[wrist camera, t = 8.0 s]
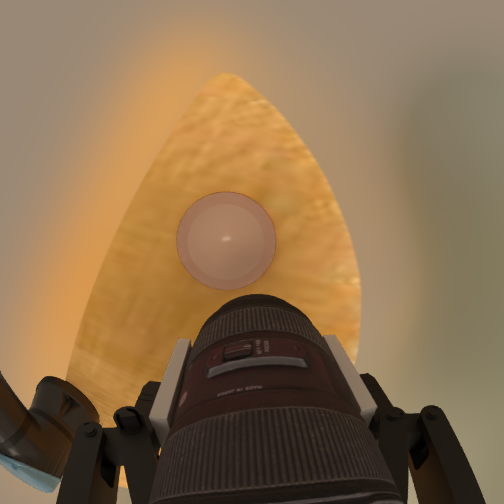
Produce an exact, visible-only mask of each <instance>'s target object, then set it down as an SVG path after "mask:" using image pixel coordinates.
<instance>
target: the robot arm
mask: <svg viewBox="0 0 504 504" xmlns="http://www.w3.org/2000/svg"><path fill="white" fill-rule="evenodd" d="M323 339H324V341H325V343H326V345H327V347H328V349H329V350H330V352H331V354H332V357H333V359H334V361H335V364H336V368H337V370H338V373H339V375H340V377H341V379H342V381H343V383H344V385H345V387H346V389H347V392H348V394H349V396H350V398H351V401H352V403H353V405H354V407H355V408H356V410H357V411H358V413H359V414H360V415H361V416H362V417H363V418H364V420H365V422H366V424H367V427H368V428H369V430H370V431H371V433H372V434H373V436H374V438H375V440H376V442H377V445H378V447H379V449H380V451H381V453H382V455H383V458H384V460H385V462H386V464H387V466H388V469H389V471H390V473H391V475H392V478H393V480H394V482H395V484H396V487H397V488H398V490H399V492H400V493H401V499H402V500H404V504H407V499H408V466H409V469H410V473H411V476H412V479H413V483H414V487H415V490H416V494H417V498H418V502H419V504H486V503H485V500H484V498H483V495H482V493H481V490H480V487H479V485H478V483H477V480H476V478H475V475H474V473H473V471H472V468H471V467H470V464H469V462H468V460H467V458H466V455H465V453H464V451H463V449H462V447H461V446H460V443H459V441H458V439H457V437H456V435H455V433H454V431H453V429H452V427H451V425H450V423H449V421H448V419H447V418H446V416H445V414H444V412H443V411H442V409H441V408H439V407H437V406H434V405H429V406H426V407H424V408H423V409H422V410H421V412H420V413H413V414H406V413H405V412H404V411H403V410H402V409H400V408H398V407H393V405H392V404H391V403H390V401H389V399H388V398H387V396H386V395H385V393H384V392H383V390H382V388H381V387H380V385H379V384H378V382H377V381H376V379H375V378H374V377H373V376H371V375H370V374H369V373H366V374H360V375H359V374H358V372H357V371H356V369H355V367H354V366H353V364H352V362H351V361H350V359H349V357H348V356H347V354H346V352H345V351H344V349H343V347H342V346H341V344H340V342H339V341H338V339H337V337H336V336H335V335H325V336H323ZM191 349H192V348H191V340H190V339H178V340H177V343H176V345H175V348H174V350H173V353H172V355H171V358H170V361H169V363H168V366H167V369H166V371H165V374H164V377H163V379H162V382H153V381H149V382H148V383H147V384H146V385H145V386H143V388H142V391H141V393H140V395H139V397H138V400H137V402H136V404H135V407H132V406H126V407H122V408H120V409H118V410H117V411H116V412H115V413H114V416H113V419H114V421H115V423H116V425H117V427H114V428H102V426H101V425H100V424H99V416H98V414H97V411H96V410H95V408H94V407H93V405H92V404H91V403H90V401H89V400H88V399H87V398H86V397H85V396H84V395H83V394H82V393H81V392H80V391H79V390H77V389H76V388H75V387H73V386H72V385H71V384H69V383H67V382H66V381H64V380H61V379H60V378H57V377H53V376H46V377H44V378H43V379H42V380H41V381H40V382H39V384H38V385H37V388H36V393H35V396H34V399H33V402H32V405H31V407H30V409H29V410H27V409H26V407H25V406H24V405H23V404H22V402H21V401H20V400H19V399H18V397H17V396H16V395H15V393H14V392H13V390H12V389H11V387H10V386H9V385H8V383H7V382H6V380H5V379H4V377H3V376H2V374H1V371H0V464H1V465H2V466H3V467H4V468H5V469H7V470H8V471H9V472H10V473H12V474H13V475H15V476H16V477H18V478H19V479H20V480H22V481H23V482H25V483H27V484H28V485H30V486H32V487H34V488H36V489H38V490H40V491H42V492H45V493H52V492H53V491H54V490H55V489H56V487H57V485H58V484H59V482H61V485H60V489H59V493H58V498H57V502H56V504H116V502H117V491H118V483H119V474H120V467H121V466H124V468H125V474H126V479H127V484H128V488H129V493H130V497H131V501H132V504H149V499H150V495H151V491H152V486H153V482H154V478H155V474H156V469H157V465H158V461H159V457H160V456H159V450H160V447H161V450H162V448H163V446H164V443H165V440H166V438H167V435H168V433H169V431H170V429H171V428H172V426H173V422H174V418H175V414H176V410H177V406H178V402H179V398H180V393H181V389H182V385H183V379H184V373H185V369H186V365H187V362H188V358H189V355H190V352H191ZM62 476H63V477H62ZM61 478H62V481H61Z"/></svg>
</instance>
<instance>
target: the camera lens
mask: <svg viewBox="0 0 504 504" xmlns="http://www.w3.org/2000/svg"><path fill="white" fill-rule="evenodd" d="M149 504H404V500H402V499H401V493H400V492H399V490H398V488H397V487H396V484H395V482H394V480H393V478H392V475H391V473H390V471H389V469H388V466H387V464H386V462H385V460H384V458H383V455H382V453H381V451H380V449H379V447H378V445H377V442H376V440H375V438H374V436H373V434H372V433H371V431H370V430H369V428H368V427H367V424H366V422H365V420H364V418H363V417H362V416H361V415H360V414H359V413H358V411H357V410H356V408H355V407H354V405H353V403H352V401H351V398H350V396H349V394H348V392H347V389H346V387H345V385H344V383H343V381H342V379H341V377H340V375H339V373H338V370H337V368H336V364H335V361H334V359H333V357H332V354H331V352H330V350H329V349H328V347H327V345H326V343H325V341H324V339H323V337H322V336H321V334H320V333H319V331H318V330H317V329H316V328H315V327H314V326H313V324H312V322H311V321H310V320H309V318H308V317H307V316H306V315H305V314H304V313H303V312H301V311H300V310H299V309H298V308H296V307H295V306H293V305H290V304H289V303H288V302H286V301H284V300H282V299H280V298H277V297H275V296H271V295H265V294H250V295H244V296H241V297H238V298H235V299H233V300H231V301H229V302H228V303H226V304H224V305H223V306H222V307H221V308H220V309H219V310H218V311H216V312H215V313H214V314H213V315H212V316H210V317H209V318H208V320H207V321H206V322H205V323H204V325H203V326H202V328H201V330H200V332H199V335H198V336H197V338H196V340H195V342H194V345H193V347H192V349H191V352H190V355H189V358H188V362H187V365H186V369H185V373H184V379H183V385H182V389H181V393H180V398H179V402H178V406H177V410H176V414H175V418H174V422H173V426H172V428H171V429H170V431H169V433H168V435H167V438H166V440H165V443H164V446H163V448H162V450H161V453H160V457H159V461H158V465H157V469H156V474H155V478H154V482H153V486H152V491H151V495H150V499H149Z"/></svg>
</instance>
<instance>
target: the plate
mask: <svg viewBox="0 0 504 504" xmlns="http://www.w3.org/2000/svg"><path fill="white" fill-rule="evenodd" d="M275 248H276V235H275V230H274V226H273V224H272V221H271V219H270V217H269V216H268V214H267V213H266V211H265V210H264V209H263V208H262V207H261V206H260V205H259V204H258V203H256V202H255V201H254V200H252V199H250V198H249V197H246V196H244V195H241V194H238V193H232V192H220V193H214V194H211V195H208V196H206V197H203V198H202V199H200V200H198V201H197V202H196V203H194V204H193V205H192V206H191V207H190V208H189V209H188V210H187V212H186V213H185V214H184V216H183V218H182V220H181V222H180V225H179V228H178V232H177V249H178V253H179V257H180V259H181V262H182V264H183V265H184V267H185V269H186V270H187V271H188V272H189V274H190V275H192V276H193V277H194V278H195V279H196V280H197V281H199V282H200V283H202V284H204V285H206V286H209V287H211V288H215V289H220V290H233V289H239V288H242V287H245V286H247V285H249V284H251V283H253V282H254V281H256V280H257V279H259V278H260V277H261V276H262V275H263V274H264V273H265V271H266V270H267V269H268V267H269V266H270V264H271V262H272V259H273V256H274V253H275Z"/></svg>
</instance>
